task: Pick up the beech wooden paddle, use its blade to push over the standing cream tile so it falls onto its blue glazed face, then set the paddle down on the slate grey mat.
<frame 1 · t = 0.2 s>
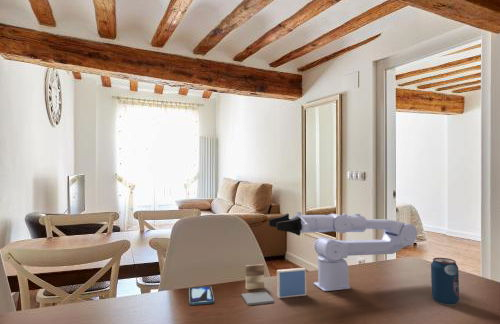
hand: (272, 224, 107), 21 cm above the table, tool horizontal, fingers open, 7 cm apart
soda can: (445, 302, 97), on the table
paddle: (254, 287, 111), on the table
tile: (291, 295, 103), on the table
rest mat: (257, 299, 101), on the table
smartphone: (201, 297, 104), on the table
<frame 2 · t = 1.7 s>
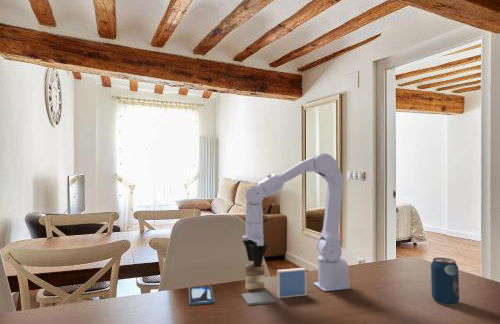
hand: (254, 263, 111), 8 cm above the table, tool pointing down, fingers open, 7 cm apart
nothing on the table moved.
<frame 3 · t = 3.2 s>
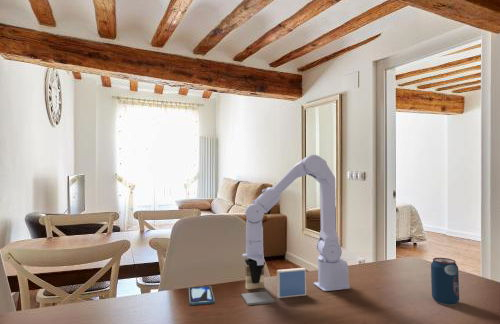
hand: (254, 281, 111), 2 cm above the table, tool pointing down, fingers closed on paddle, 2 cm apart
paddle: (254, 287, 111), on the table, touching gripper
everything else where it was.
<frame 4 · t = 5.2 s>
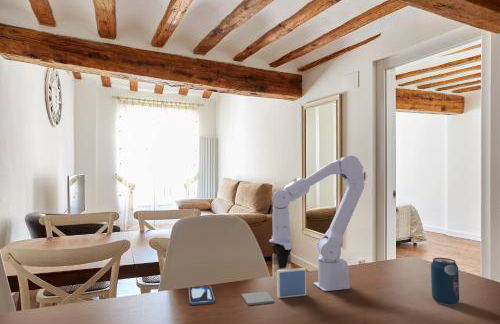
hand: (281, 266, 112), 6 cm above the table, tool pointing down, fingers closed on paddle, 2 cm apart
paddle: (281, 276, 112), point 3 cm above the table, touching gripper
everything else where it was.
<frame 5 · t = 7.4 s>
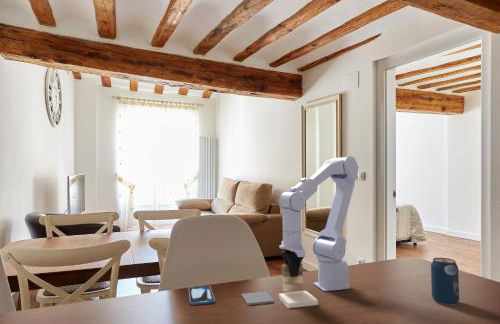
hand: (292, 275, 103), 6 cm above the table, tool pointing down, fingers closed on paddle, 2 cm apart
paddle: (292, 289, 102), point 2 cm above the table, touching gripper
tile: (292, 294, 103), on the table, tilted 90°
everything else where it was.
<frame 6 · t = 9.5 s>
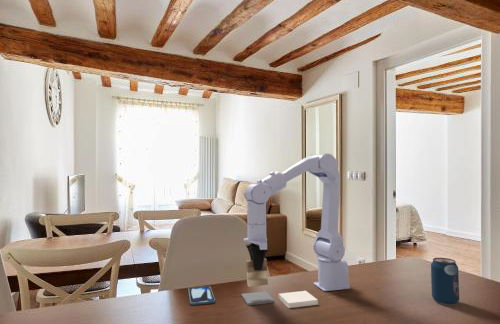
hand: (257, 269, 101), 9 cm above the table, tool pointing down, fingers closed on paddle
paddle: (257, 284, 101), point 4 cm above the table, touching gripper
everything else where it was.
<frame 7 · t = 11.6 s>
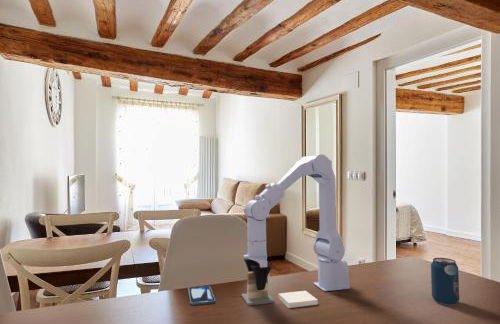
hand: (257, 285, 101), 4 cm above the table, tool pointing down, fingers open, 7 cm apart
paddle: (257, 297, 101), point 1 cm above the table, touching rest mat
everything else where it was.
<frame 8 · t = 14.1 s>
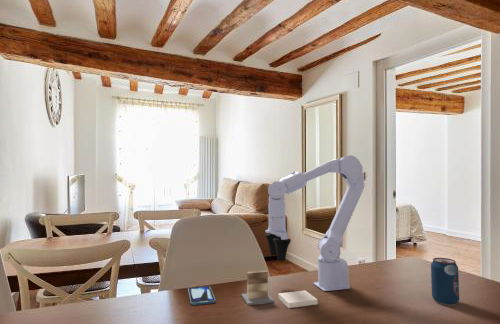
hand: (277, 257, 113), 9 cm above the table, tool pointing down, fingers open, 7 cm apart
nothing on the table moved.
at the end: tile tilted 90°; paddle inside the target area on the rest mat (0.1 cm from its centre), point 0.6 cm above the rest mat's base; the gripper is holding nothing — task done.
